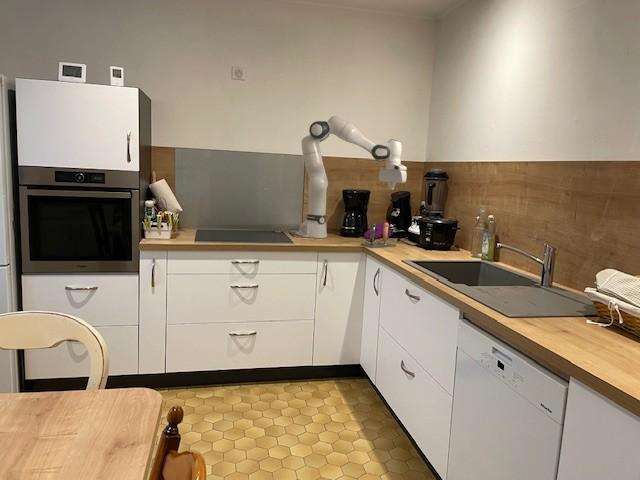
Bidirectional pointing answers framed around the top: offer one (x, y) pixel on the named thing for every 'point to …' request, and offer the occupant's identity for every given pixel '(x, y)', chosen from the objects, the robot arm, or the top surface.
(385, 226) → the sliding leg
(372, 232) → the fixed leg
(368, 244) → the hole plate
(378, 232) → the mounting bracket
